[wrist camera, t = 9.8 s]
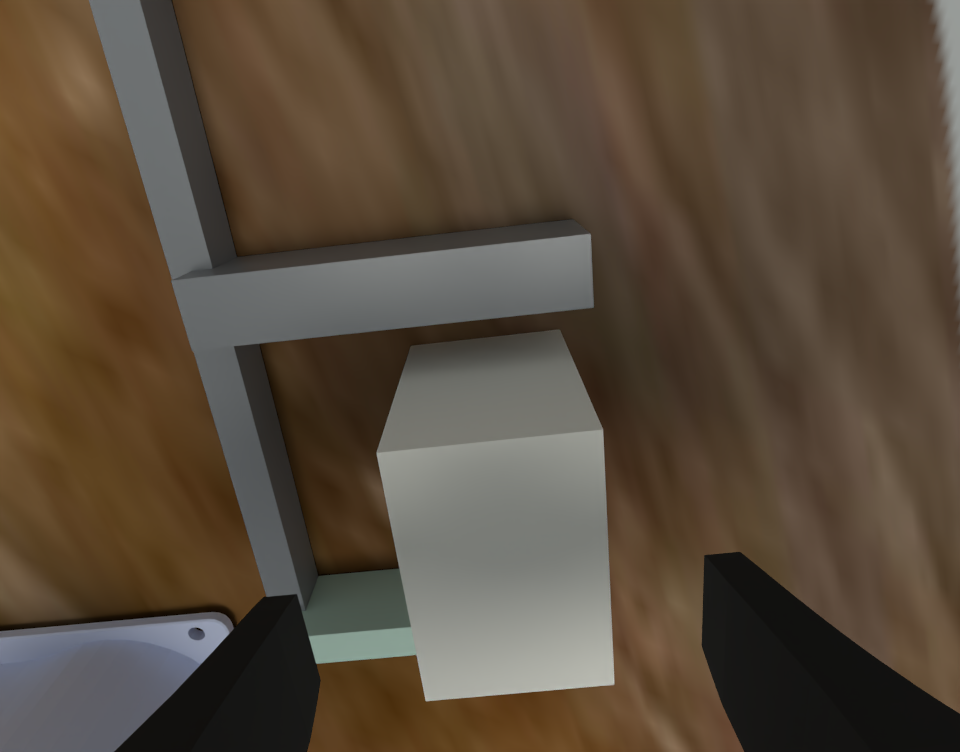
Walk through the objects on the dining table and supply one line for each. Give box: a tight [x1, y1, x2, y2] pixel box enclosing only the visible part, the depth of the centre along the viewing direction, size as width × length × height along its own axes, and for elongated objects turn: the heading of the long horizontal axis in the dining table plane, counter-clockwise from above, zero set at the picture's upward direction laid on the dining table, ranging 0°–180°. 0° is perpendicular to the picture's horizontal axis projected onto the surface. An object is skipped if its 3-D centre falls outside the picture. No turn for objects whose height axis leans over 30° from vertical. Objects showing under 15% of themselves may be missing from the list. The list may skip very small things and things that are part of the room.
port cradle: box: [89, 0, 594, 664], centre depth 14 cm, size 10×20×2 cm, turn 6°
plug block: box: [376, 329, 614, 701], centre depth 15 cm, size 4×6×6 cm, turn 6°
